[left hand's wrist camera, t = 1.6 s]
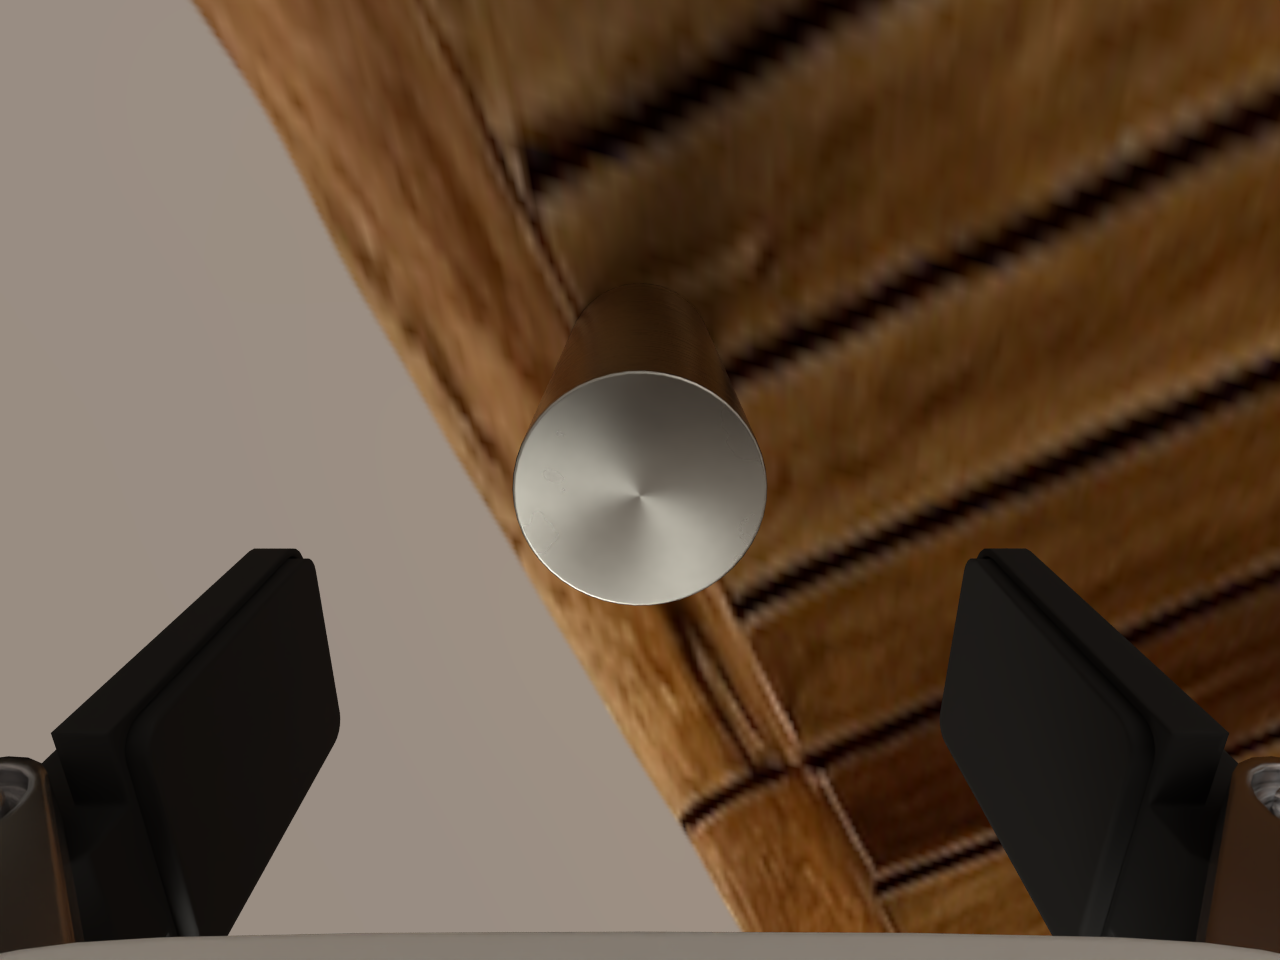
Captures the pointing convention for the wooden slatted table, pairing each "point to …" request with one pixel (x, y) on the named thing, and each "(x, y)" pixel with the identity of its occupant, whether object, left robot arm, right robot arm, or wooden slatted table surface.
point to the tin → (639, 456)
